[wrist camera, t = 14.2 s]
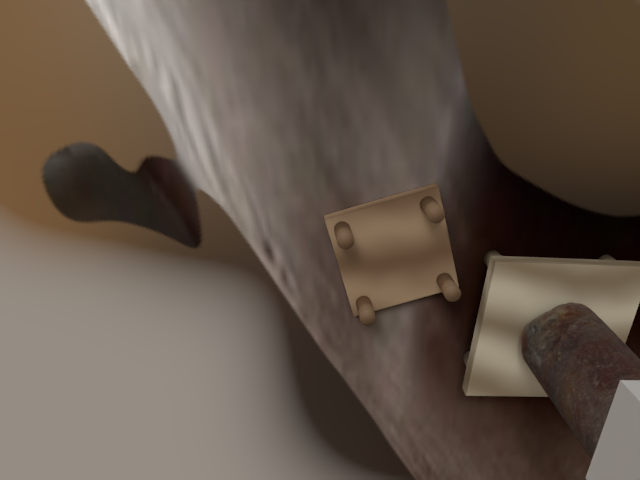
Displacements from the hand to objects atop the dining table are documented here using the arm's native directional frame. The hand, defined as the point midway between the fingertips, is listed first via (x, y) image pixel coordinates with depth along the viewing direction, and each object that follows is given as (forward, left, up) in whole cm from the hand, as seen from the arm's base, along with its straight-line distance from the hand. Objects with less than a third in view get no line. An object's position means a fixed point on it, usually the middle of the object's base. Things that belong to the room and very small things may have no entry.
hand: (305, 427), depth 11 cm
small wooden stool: (+17, +25, -35) cm, 46 cm away
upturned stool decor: (+11, +10, -35) cm, 38 cm away
